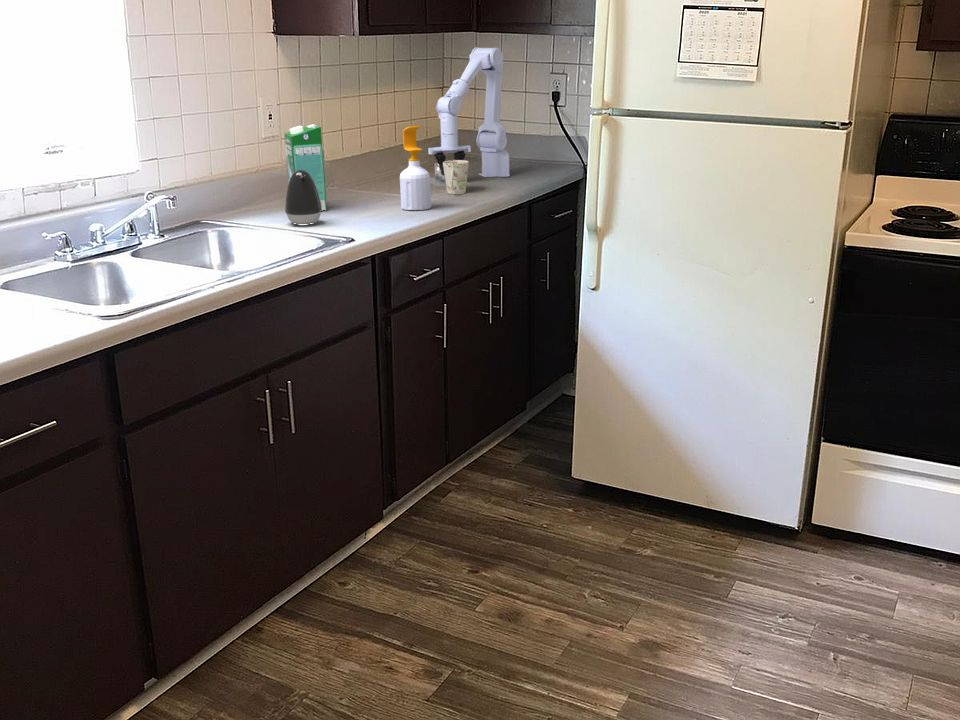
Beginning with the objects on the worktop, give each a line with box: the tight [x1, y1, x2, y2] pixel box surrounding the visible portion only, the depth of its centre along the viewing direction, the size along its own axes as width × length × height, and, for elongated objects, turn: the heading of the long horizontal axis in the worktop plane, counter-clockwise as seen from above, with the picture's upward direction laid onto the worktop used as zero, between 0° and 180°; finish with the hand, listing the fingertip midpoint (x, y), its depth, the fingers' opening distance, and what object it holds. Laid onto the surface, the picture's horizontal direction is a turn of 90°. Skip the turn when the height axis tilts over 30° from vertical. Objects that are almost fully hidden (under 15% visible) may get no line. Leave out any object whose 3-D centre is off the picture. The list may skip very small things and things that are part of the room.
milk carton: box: [283, 123, 328, 211], centre depth 291 cm, size 9×9×25 cm
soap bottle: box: [399, 125, 432, 211], centre depth 291 cm, size 9×9×25 cm
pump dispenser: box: [284, 170, 322, 224], centre depth 274 cm, size 10×10×15 cm
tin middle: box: [439, 167, 446, 182], centre depth 337 cm, size 5×5×5 cm
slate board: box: [430, 177, 471, 187], centre depth 338 cm, size 12×18×1 cm, turn 18°
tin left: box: [433, 162, 439, 179], centre depth 343 cm, size 5×5×5 cm
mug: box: [443, 159, 470, 195], centre depth 316 cm, size 8×13×10 cm, turn 174°
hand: (450, 174), depth 332 cm, fingers closed on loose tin, 4 cm apart
